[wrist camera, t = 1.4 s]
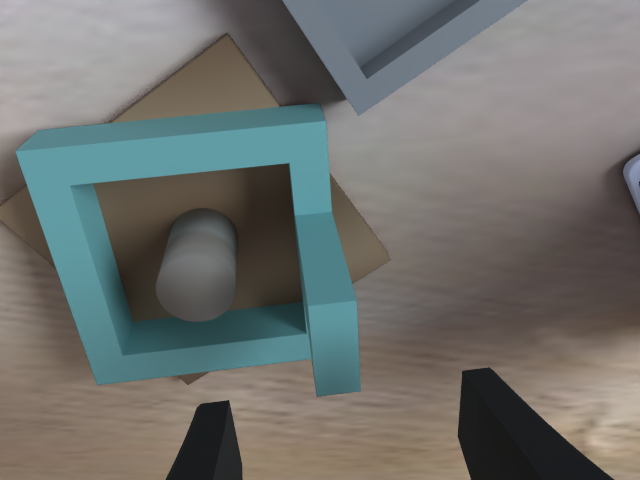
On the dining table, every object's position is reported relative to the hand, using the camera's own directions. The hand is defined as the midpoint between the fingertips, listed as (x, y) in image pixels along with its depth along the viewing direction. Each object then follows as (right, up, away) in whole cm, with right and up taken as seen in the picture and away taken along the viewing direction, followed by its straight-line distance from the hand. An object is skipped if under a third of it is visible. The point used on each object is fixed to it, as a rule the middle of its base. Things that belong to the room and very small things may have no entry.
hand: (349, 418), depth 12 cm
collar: (-5, +4, +8) cm, 10 cm away
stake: (-5, +4, +8) cm, 11 cm away
